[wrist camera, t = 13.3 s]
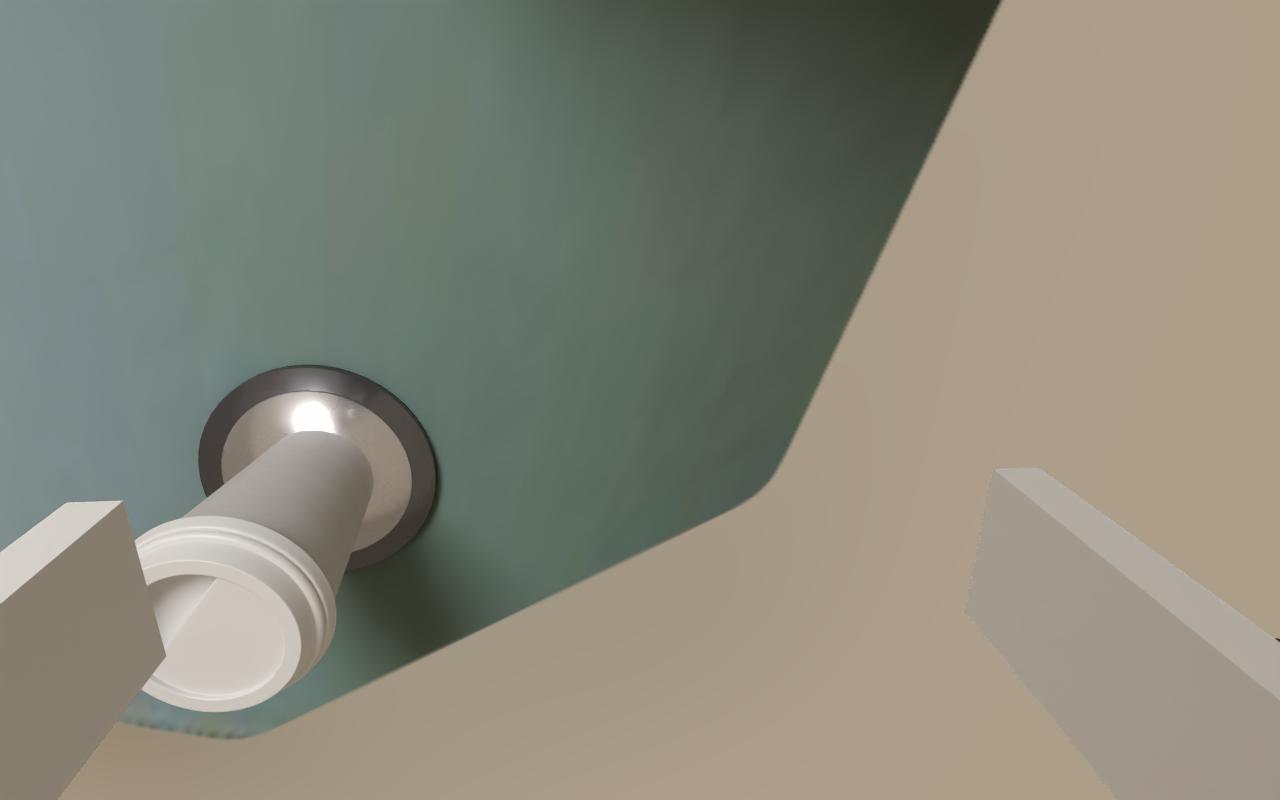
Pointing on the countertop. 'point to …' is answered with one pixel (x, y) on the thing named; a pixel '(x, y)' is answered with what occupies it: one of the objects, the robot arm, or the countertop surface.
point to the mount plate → (342, 409)
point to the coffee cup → (255, 574)
